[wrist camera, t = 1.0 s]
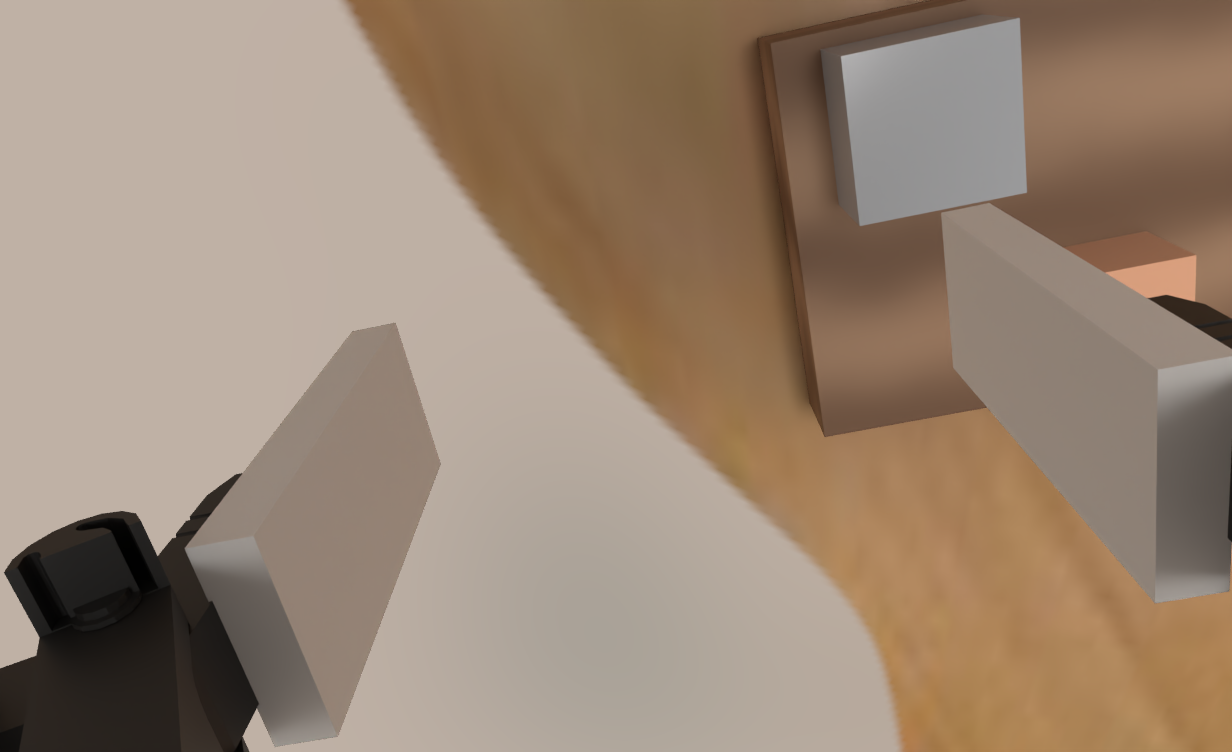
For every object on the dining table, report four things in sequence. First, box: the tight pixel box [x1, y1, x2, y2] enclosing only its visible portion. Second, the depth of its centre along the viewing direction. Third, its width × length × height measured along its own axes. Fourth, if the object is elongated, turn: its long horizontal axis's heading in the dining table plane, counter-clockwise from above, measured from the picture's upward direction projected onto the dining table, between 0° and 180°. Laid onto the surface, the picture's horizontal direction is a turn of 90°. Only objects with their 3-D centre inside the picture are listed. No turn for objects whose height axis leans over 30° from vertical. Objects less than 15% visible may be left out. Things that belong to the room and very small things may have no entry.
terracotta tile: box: [1063, 231, 1196, 301], centre depth 31 cm, size 5×5×3 cm
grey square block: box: [820, 14, 1027, 226], centre depth 29 cm, size 5×5×3 cm
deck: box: [758, 0, 1232, 437], centre depth 33 cm, size 14×15×3 cm
